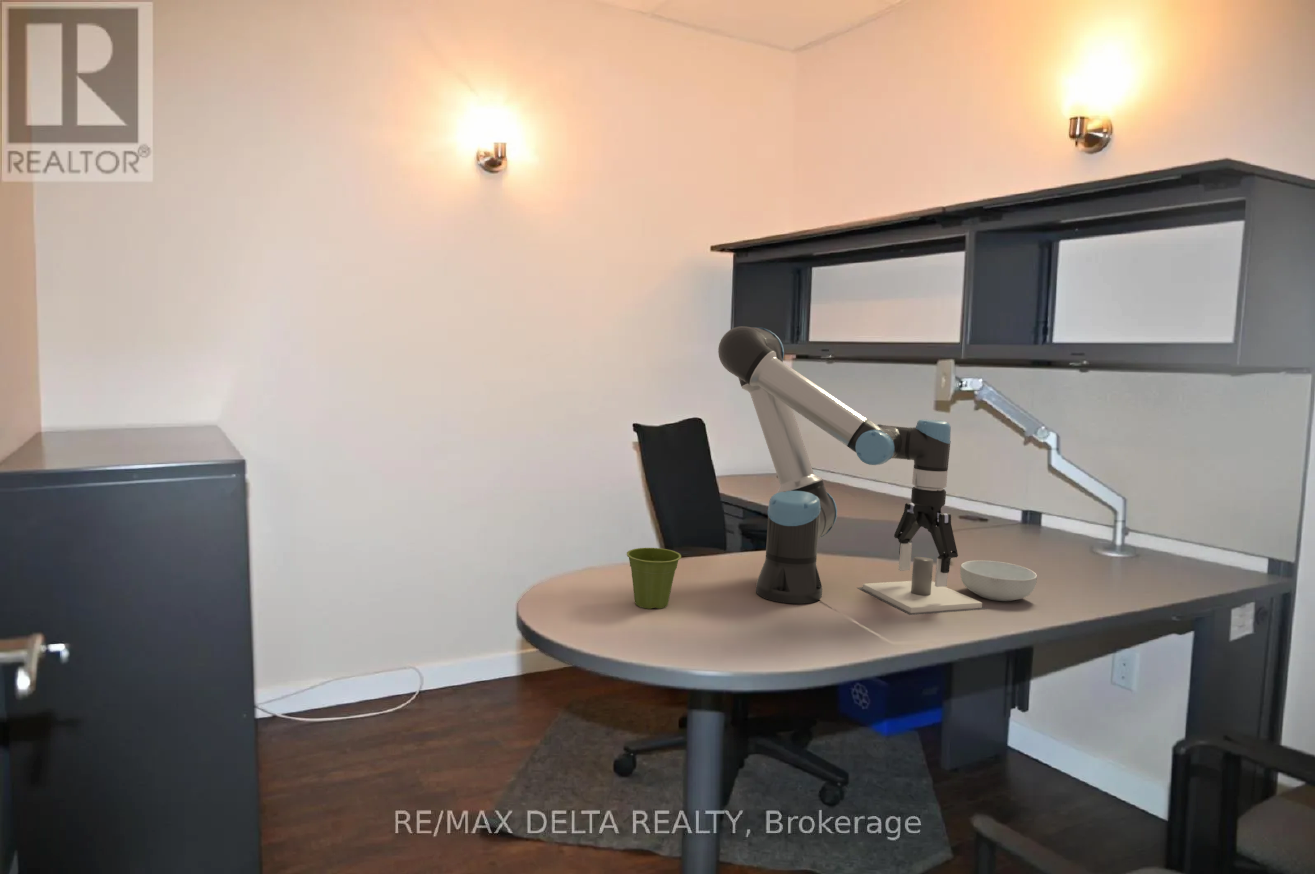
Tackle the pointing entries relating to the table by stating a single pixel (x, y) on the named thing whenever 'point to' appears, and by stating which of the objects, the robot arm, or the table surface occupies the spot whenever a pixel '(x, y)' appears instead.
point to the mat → (919, 612)
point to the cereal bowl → (998, 579)
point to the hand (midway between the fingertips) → (921, 578)
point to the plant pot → (652, 575)
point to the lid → (921, 592)
